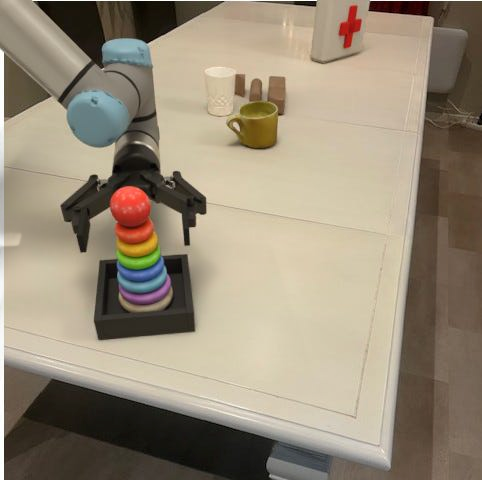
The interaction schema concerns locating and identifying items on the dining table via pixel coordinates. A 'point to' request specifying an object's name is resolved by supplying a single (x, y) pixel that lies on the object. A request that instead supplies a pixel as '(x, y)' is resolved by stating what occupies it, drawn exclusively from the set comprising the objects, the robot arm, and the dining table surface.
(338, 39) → the bevelled white case
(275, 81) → the wooden block set
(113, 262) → the socket pad
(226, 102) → the white cup
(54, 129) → the dining table surface
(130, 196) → the stacking toy
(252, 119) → the mug
